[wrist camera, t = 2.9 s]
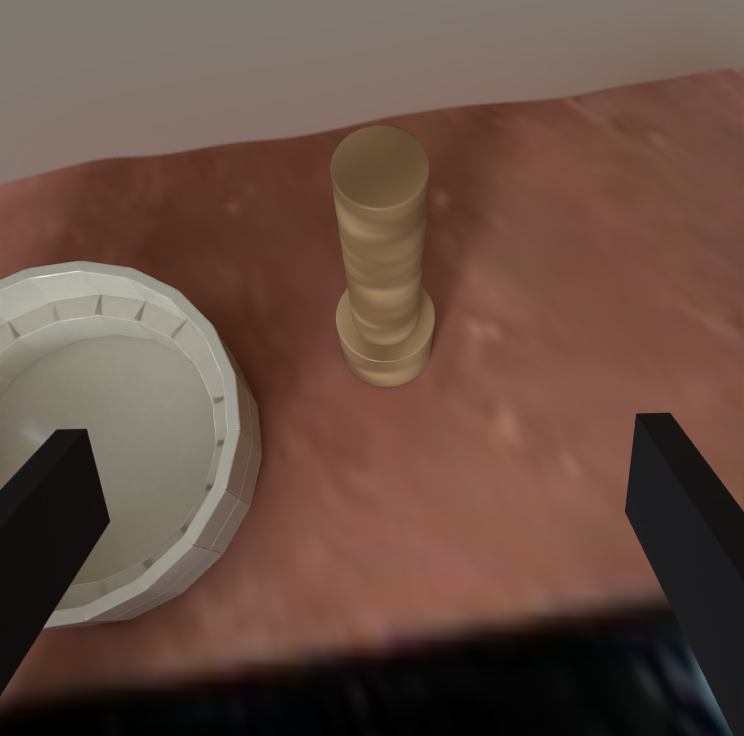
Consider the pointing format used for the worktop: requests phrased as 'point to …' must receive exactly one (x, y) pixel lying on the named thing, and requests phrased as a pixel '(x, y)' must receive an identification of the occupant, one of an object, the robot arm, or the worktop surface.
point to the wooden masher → (383, 254)
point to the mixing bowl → (130, 425)
